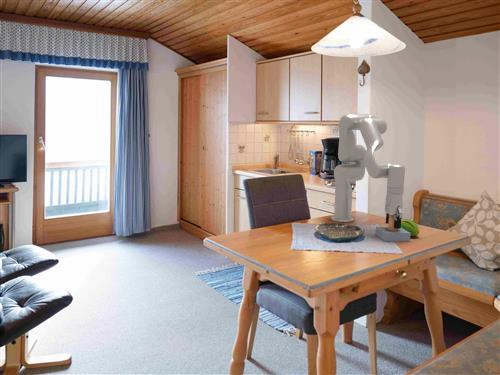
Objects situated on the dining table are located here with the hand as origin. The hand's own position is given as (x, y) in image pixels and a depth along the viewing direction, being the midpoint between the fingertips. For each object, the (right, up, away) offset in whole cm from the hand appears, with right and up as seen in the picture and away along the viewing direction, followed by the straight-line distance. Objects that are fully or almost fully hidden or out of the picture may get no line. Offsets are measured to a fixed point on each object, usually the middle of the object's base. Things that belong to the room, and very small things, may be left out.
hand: (393, 226), depth 203 cm
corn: (+9, -5, +10) cm, 14 cm away
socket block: (0, -6, +1) cm, 6 cm away
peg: (0, -6, +1) cm, 6 cm away
